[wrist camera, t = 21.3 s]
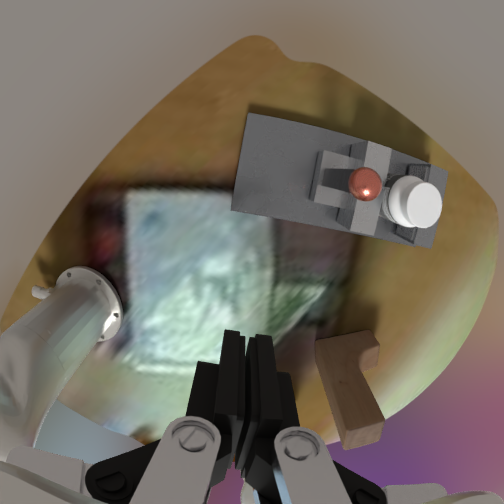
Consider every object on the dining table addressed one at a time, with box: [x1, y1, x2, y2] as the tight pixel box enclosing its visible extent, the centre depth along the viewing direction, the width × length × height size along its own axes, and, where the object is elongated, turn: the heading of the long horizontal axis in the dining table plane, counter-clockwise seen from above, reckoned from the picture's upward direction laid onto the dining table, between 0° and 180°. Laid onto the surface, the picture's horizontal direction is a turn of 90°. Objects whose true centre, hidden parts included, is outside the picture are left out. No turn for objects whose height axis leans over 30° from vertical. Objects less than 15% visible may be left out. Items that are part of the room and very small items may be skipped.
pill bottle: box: [379, 173, 442, 228], centre depth 29 cm, size 6×6×10 cm
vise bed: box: [231, 113, 448, 249], centre depth 32 cm, size 26×12×6 cm, turn 80°
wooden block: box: [315, 330, 385, 450], centre depth 33 cm, size 9×4×18 cm, turn 98°
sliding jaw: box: [309, 141, 392, 236], centre depth 27 cm, size 7×10×14 cm
